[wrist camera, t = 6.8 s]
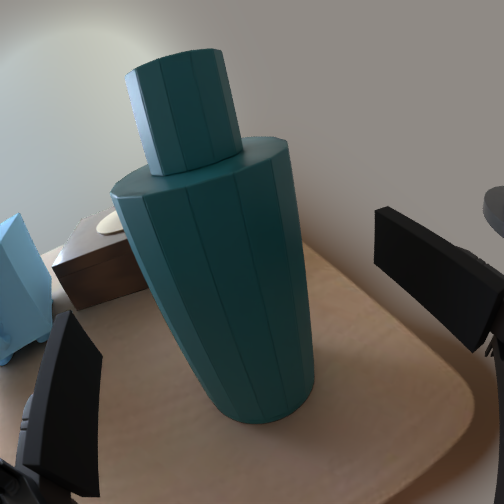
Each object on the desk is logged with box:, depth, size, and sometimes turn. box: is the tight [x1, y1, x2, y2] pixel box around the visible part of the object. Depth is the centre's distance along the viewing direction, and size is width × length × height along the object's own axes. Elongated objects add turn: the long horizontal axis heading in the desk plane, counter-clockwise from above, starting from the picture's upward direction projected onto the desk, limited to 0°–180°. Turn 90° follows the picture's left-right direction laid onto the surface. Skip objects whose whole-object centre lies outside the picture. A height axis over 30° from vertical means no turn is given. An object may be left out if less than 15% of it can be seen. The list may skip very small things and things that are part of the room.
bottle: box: [110, 49, 314, 424], centre depth 13 cm, size 7×7×18 cm
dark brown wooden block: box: [52, 206, 149, 311], centre depth 34 cm, size 18×14×6 cm
